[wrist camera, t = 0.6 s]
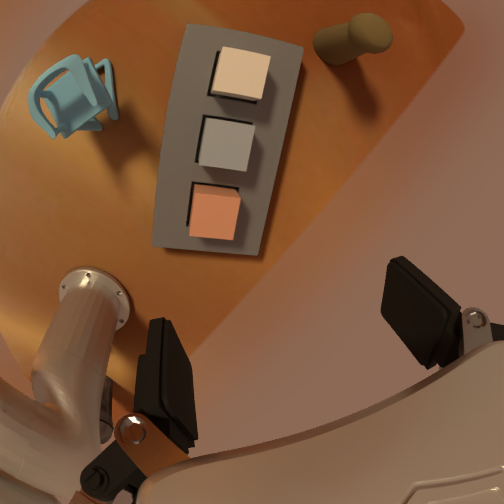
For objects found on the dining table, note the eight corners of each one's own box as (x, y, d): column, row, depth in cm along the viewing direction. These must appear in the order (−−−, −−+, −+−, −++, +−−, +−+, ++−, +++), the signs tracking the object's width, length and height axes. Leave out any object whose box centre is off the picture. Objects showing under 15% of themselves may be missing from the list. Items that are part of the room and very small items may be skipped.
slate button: (240, 165, 32) (246, 171, 29) (198, 159, 31) (198, 165, 27) (248, 124, 30) (255, 125, 27) (205, 118, 29) (207, 117, 25)
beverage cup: (119, 392, 50) (113, 472, 33) (89, 386, 48) (77, 464, 31) (117, 373, 47) (108, 460, 30) (84, 366, 45) (67, 451, 28)
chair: (85, 142, 29) (42, 157, 18) (60, 93, 25) (11, 90, 14) (134, 108, 28) (107, 106, 18) (108, 58, 24) (73, 37, 14)
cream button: (253, 101, 29) (261, 98, 25) (210, 93, 27) (212, 90, 24) (261, 62, 27) (270, 56, 23) (219, 54, 25) (222, 46, 22)
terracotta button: (228, 226, 35) (232, 240, 32) (189, 222, 34) (189, 235, 31) (235, 189, 33) (240, 198, 30) (194, 184, 32) (194, 192, 29)
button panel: (253, 245, 40) (257, 255, 38) (154, 236, 37) (152, 246, 34) (295, 52, 29) (304, 47, 26) (187, 30, 25) (187, 23, 22)
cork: (358, 56, 30) (408, 46, 20) (328, 72, 31) (375, 62, 21) (336, 22, 27) (381, 2, 17) (304, 36, 28) (345, 14, 18)
